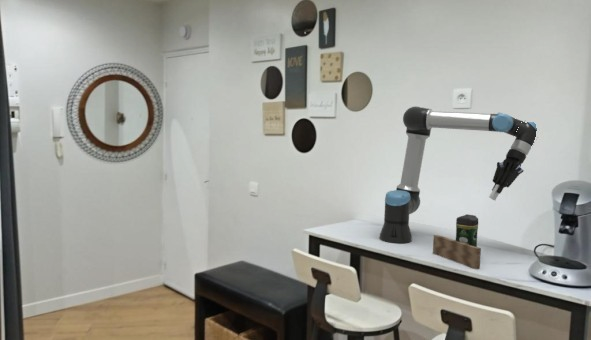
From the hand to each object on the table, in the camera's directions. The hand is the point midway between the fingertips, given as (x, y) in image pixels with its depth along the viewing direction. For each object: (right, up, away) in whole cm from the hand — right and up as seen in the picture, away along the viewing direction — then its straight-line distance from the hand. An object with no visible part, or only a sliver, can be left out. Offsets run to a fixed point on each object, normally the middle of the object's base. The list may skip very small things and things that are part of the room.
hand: (492, 198), depth 200 cm
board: (-21, -25, -14) cm, 35 cm away
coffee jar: (-16, -25, -11) cm, 31 cm away
